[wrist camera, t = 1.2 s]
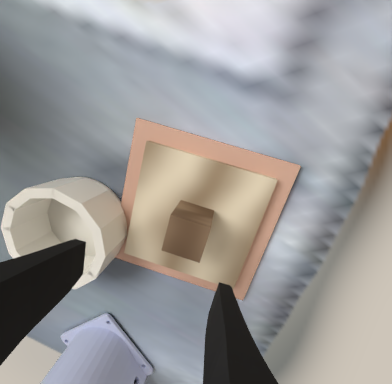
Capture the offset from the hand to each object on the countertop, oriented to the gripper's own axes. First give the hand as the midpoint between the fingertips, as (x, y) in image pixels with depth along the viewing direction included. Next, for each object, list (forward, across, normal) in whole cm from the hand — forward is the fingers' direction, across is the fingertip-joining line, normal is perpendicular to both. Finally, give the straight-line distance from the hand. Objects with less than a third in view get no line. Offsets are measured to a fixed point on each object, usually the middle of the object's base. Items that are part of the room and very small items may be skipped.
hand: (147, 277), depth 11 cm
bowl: (+9, +10, +4) cm, 14 cm away
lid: (+9, -1, 0) cm, 9 cm away
